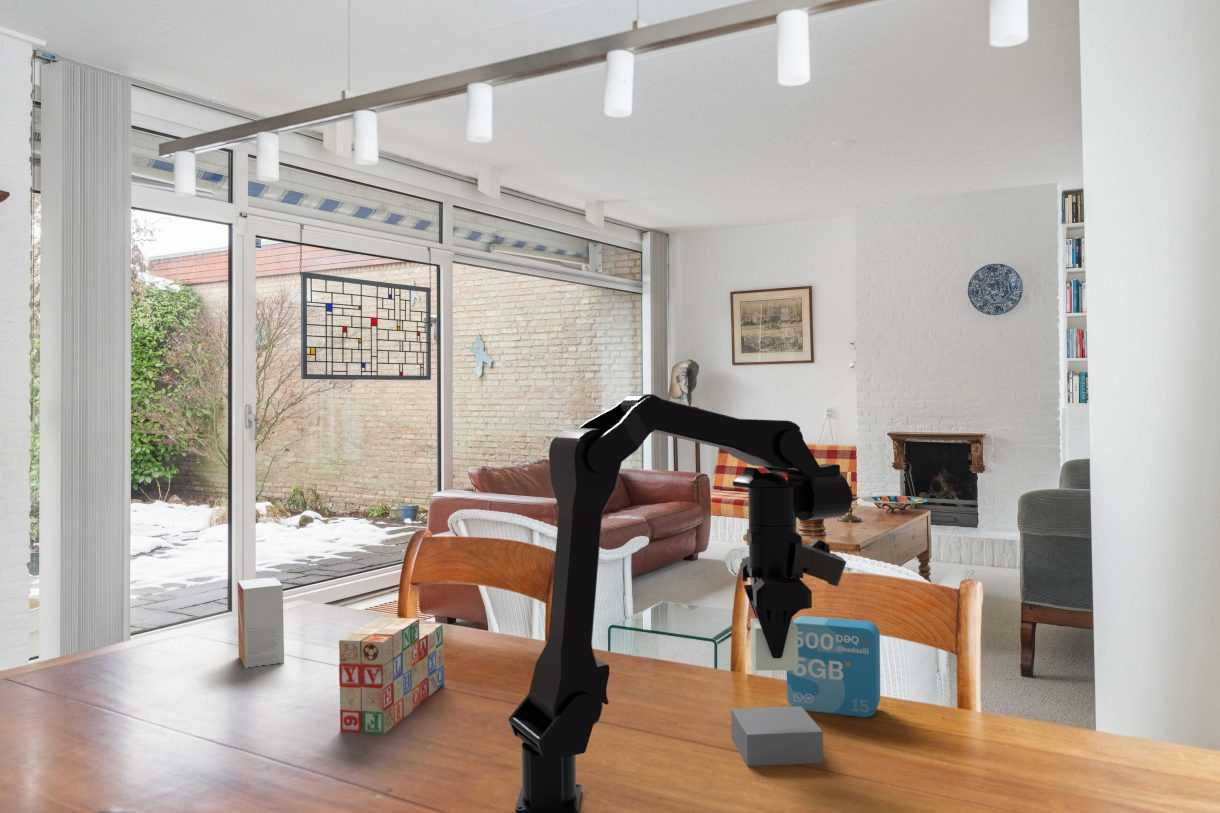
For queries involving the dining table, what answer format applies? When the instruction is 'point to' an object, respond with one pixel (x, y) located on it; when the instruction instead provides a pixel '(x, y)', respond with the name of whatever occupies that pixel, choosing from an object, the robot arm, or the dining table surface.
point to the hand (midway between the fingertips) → (773, 651)
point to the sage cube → (763, 655)
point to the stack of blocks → (388, 672)
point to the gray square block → (776, 736)
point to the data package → (836, 667)
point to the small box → (260, 622)
